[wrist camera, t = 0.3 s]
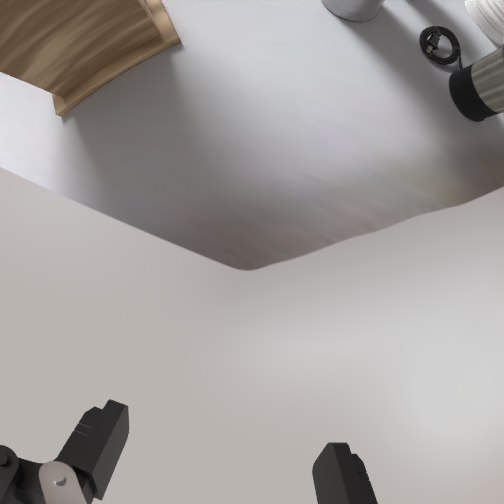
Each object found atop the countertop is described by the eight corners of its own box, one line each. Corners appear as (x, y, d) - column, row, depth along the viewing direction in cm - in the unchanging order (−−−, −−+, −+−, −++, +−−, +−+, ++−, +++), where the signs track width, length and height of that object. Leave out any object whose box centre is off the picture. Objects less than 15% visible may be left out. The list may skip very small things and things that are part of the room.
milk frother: (485, 132, 32) (546, 118, 18) (412, 87, 32) (467, 48, 17) (486, 68, 30) (534, 44, 15) (416, 24, 30) (457, -19, 15)
